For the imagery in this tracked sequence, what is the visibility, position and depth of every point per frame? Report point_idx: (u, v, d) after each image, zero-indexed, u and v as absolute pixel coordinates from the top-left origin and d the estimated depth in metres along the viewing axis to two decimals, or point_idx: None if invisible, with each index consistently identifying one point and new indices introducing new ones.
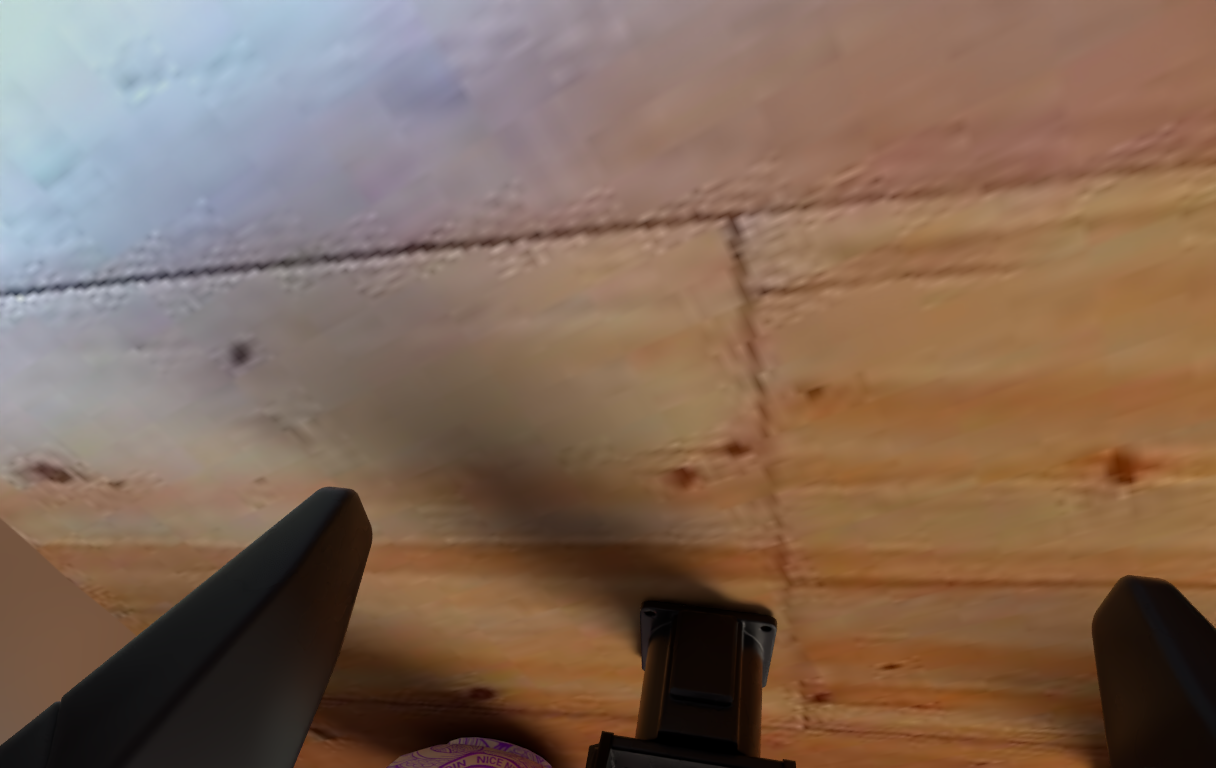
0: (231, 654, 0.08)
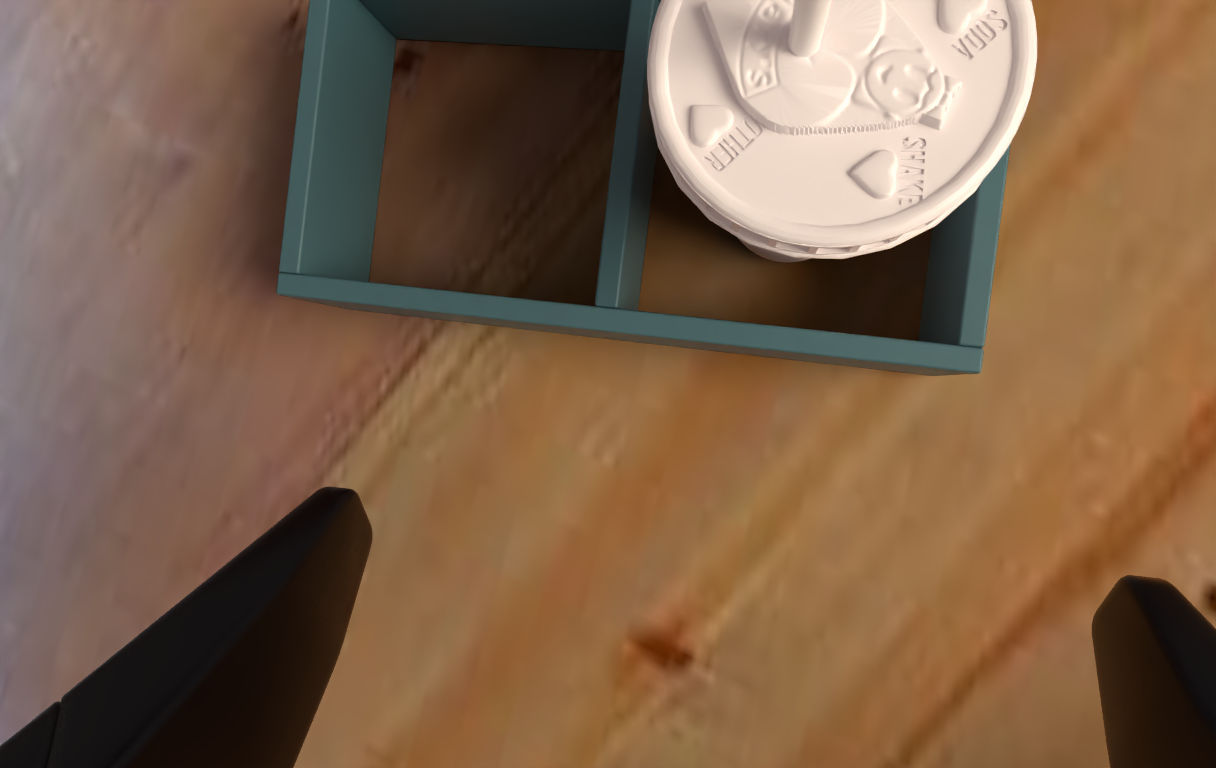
0: (231, 654, 0.08)
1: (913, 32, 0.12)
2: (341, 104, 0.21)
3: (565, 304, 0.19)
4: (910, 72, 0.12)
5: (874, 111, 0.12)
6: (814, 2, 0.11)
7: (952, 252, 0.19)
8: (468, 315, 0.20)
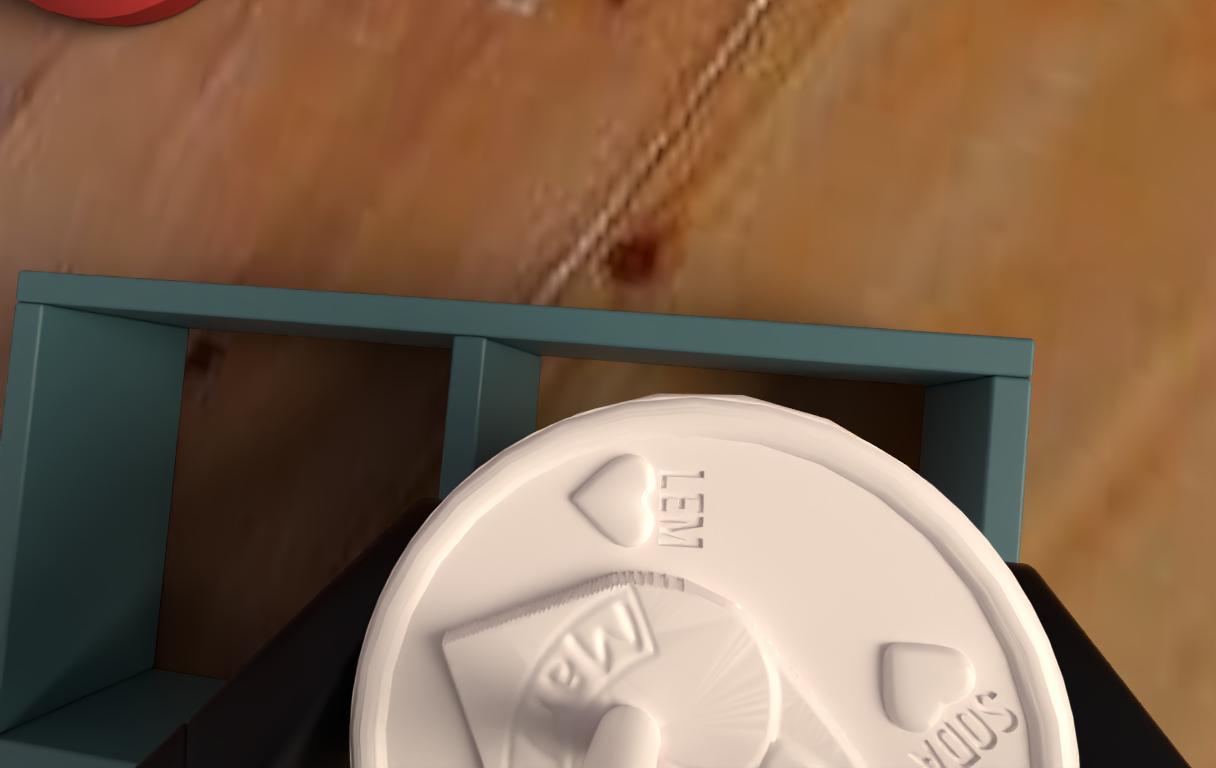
0: (352, 673, 0.07)
1: (836, 729, 0.06)
2: (77, 464, 0.15)
3: None
4: None
5: None
6: None
7: None
8: None
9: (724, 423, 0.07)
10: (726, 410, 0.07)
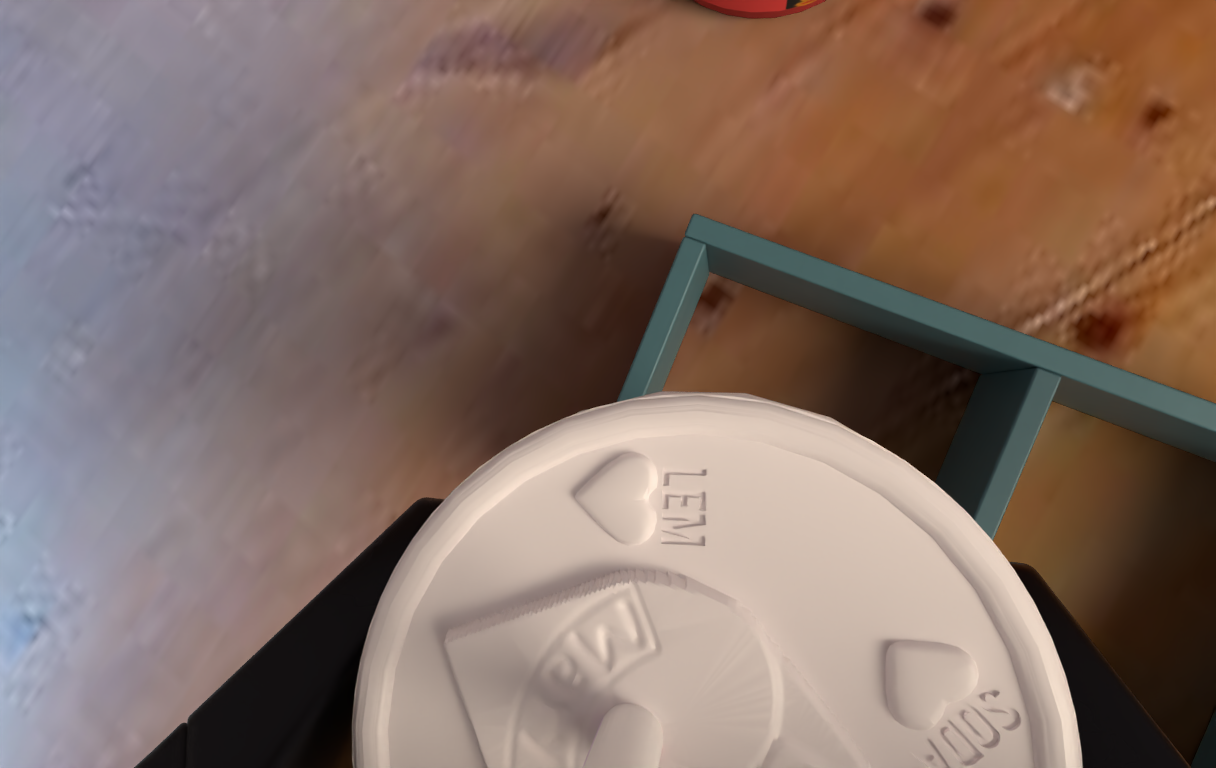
0: (352, 672, 0.07)
1: (839, 728, 0.06)
2: (662, 363, 0.20)
3: None
4: None
5: None
6: None
7: None
8: None
9: (727, 421, 0.07)
10: (729, 408, 0.07)
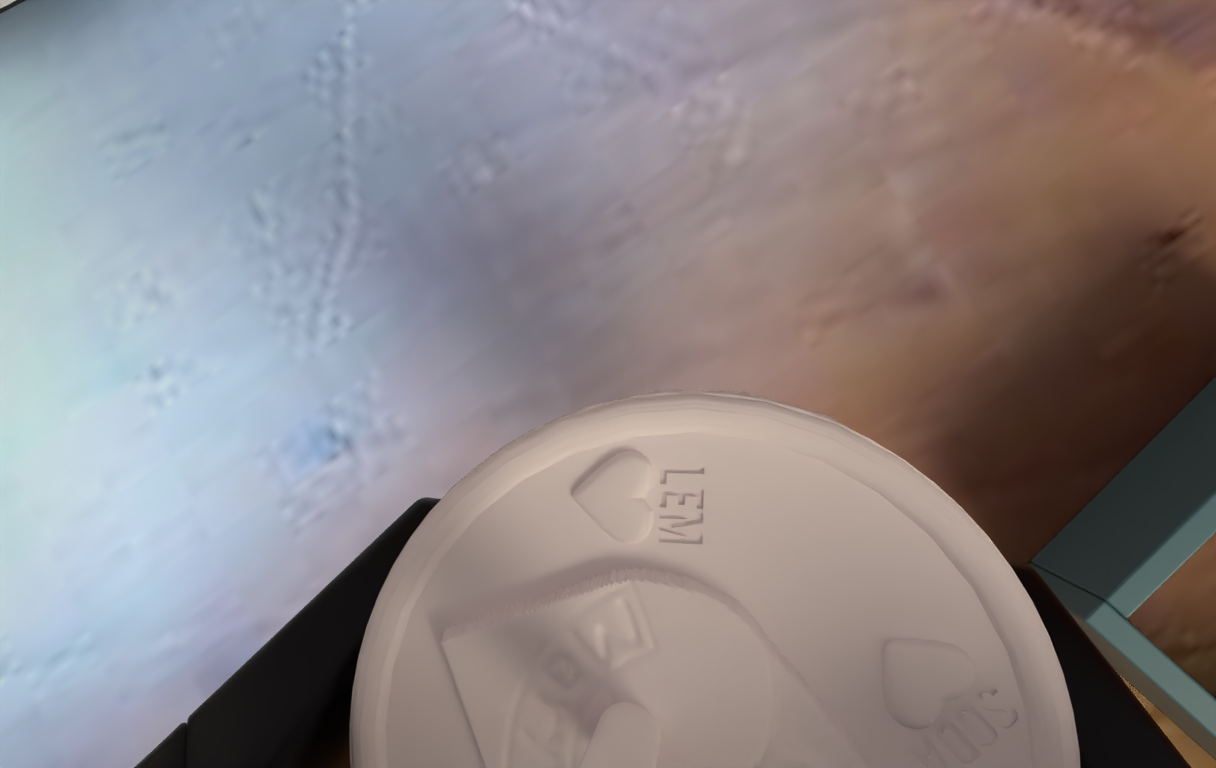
0: (352, 672, 0.07)
1: (836, 727, 0.06)
2: None
3: None
4: None
5: None
6: None
7: None
8: None
9: (724, 419, 0.07)
10: (726, 406, 0.07)
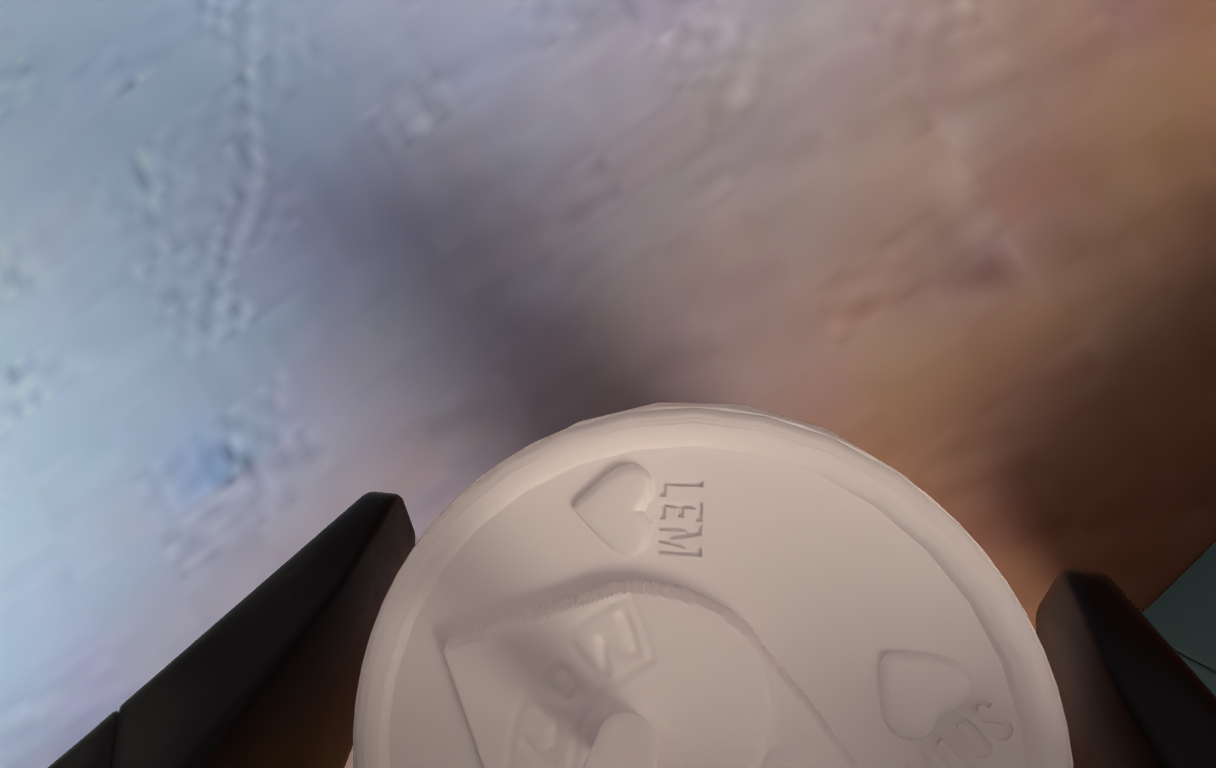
0: (287, 662, 0.07)
1: (833, 737, 0.06)
2: None
3: None
4: None
5: None
6: None
7: None
8: None
9: (723, 433, 0.07)
10: (725, 420, 0.07)
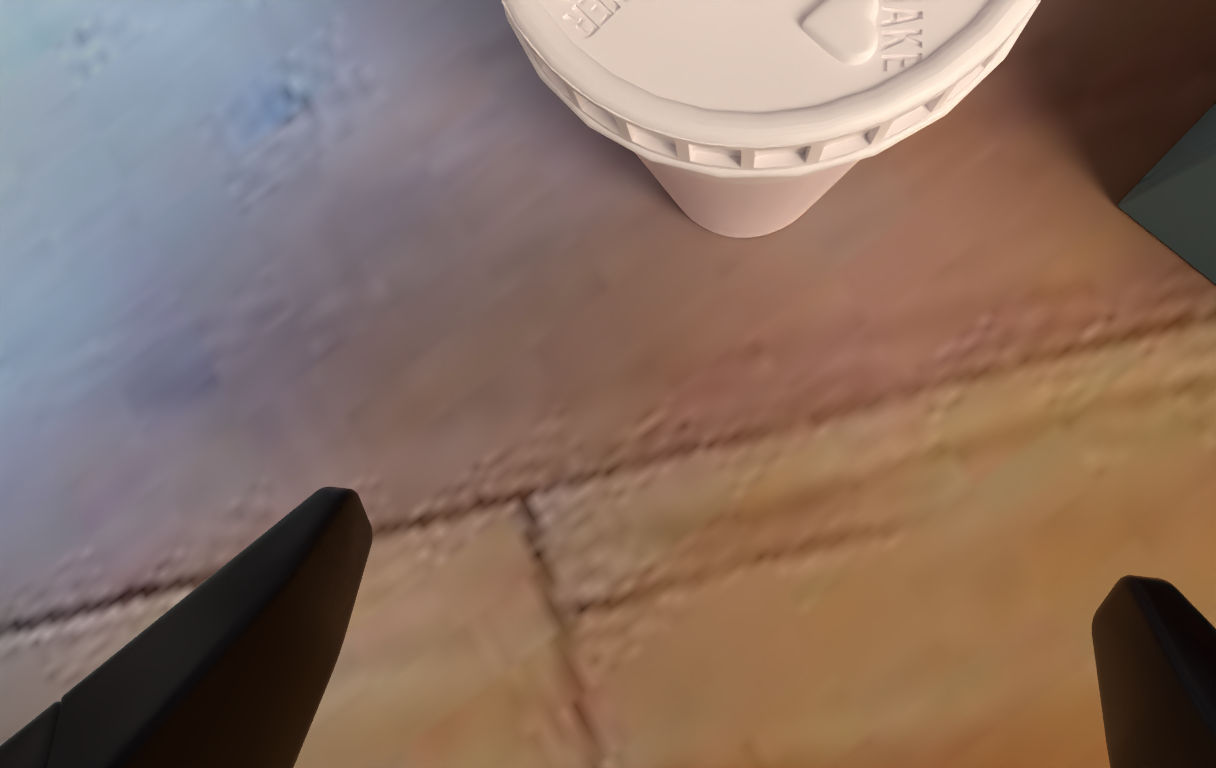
0: (231, 654, 0.08)
1: None
2: None
3: None
4: None
5: None
6: None
7: None
8: None
9: None
10: None
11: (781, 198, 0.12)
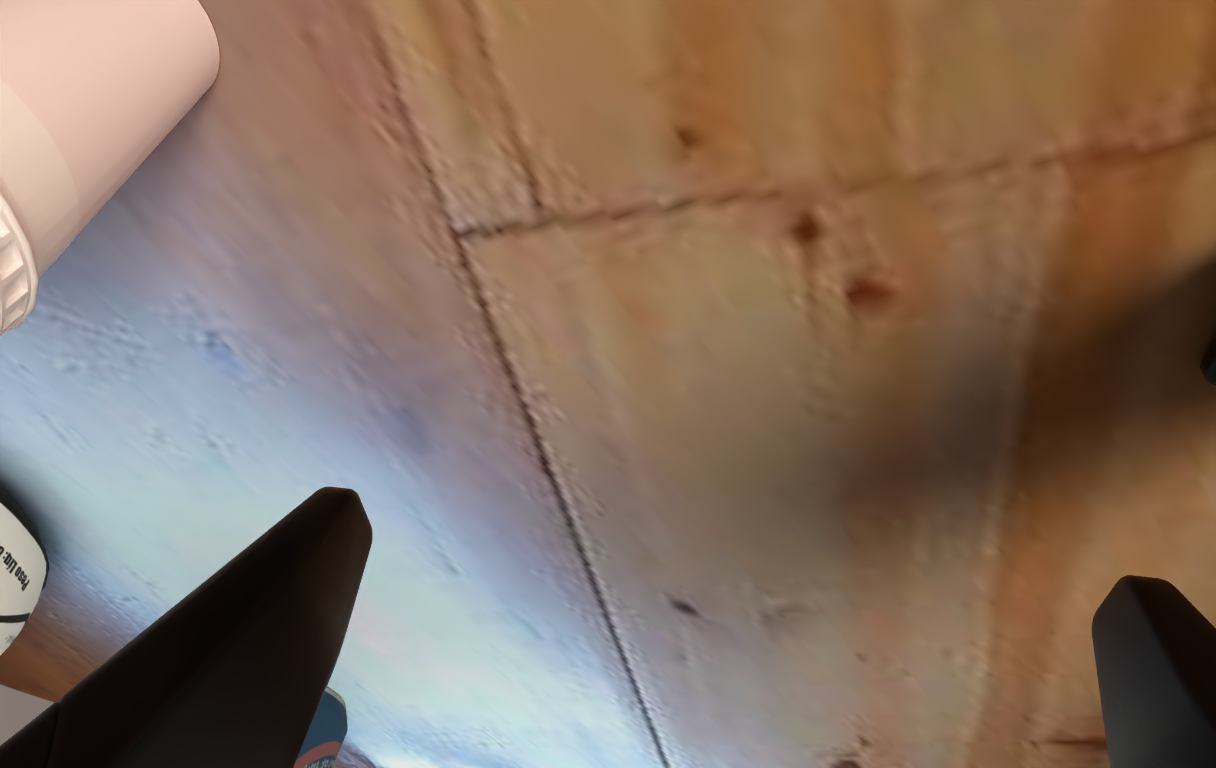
0: (231, 654, 0.08)
1: None
2: None
3: None
4: None
5: None
6: None
7: None
8: None
9: None
10: None
11: (99, 106, 0.16)
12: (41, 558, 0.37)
